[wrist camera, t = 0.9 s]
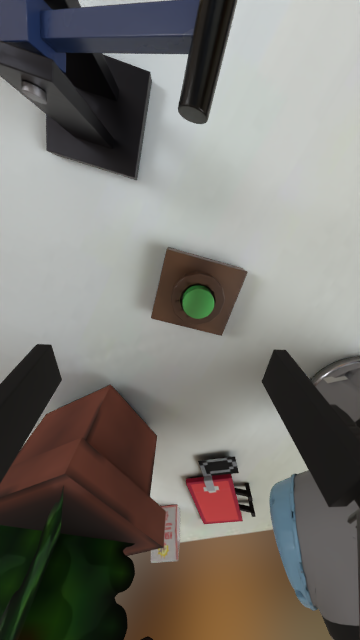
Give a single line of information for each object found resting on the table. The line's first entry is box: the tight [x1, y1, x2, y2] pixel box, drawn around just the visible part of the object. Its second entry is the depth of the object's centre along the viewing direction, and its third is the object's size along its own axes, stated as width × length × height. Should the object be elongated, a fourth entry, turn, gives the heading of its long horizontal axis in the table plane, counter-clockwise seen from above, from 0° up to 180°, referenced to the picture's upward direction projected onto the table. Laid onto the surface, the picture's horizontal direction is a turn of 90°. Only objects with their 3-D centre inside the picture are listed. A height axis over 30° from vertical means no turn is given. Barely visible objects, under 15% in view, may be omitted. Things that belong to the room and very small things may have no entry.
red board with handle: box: [186, 457, 255, 524], centre depth 52 cm, size 30×3×15 cm
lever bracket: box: [0, 0, 152, 180], centre depth 17 cm, size 10×9×13 cm
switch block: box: [151, 247, 247, 336], centre depth 28 cm, size 11×10×4 cm
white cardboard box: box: [151, 505, 180, 563], centre depth 53 cm, size 4×7×10 cm, turn 103°
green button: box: [182, 285, 214, 319], centre depth 26 cm, size 4×4×2 cm
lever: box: [0, 0, 237, 124], centre depth 11 cm, size 14×6×2 cm, turn 75°
